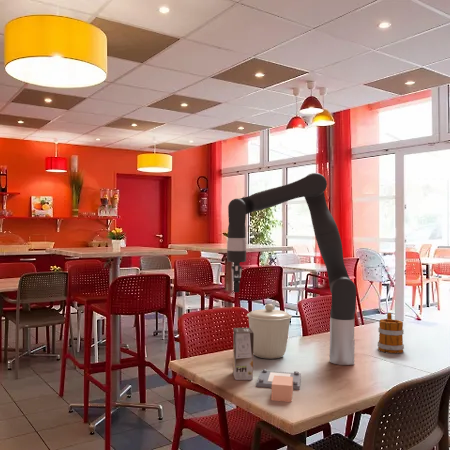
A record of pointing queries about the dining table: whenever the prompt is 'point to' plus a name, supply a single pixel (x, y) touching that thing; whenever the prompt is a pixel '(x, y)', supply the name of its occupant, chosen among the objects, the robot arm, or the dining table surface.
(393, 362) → the dining table surface
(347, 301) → the robot arm
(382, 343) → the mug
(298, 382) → the plate
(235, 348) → the coffee box
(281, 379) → the brick
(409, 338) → the dining table surface
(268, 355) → the canister
